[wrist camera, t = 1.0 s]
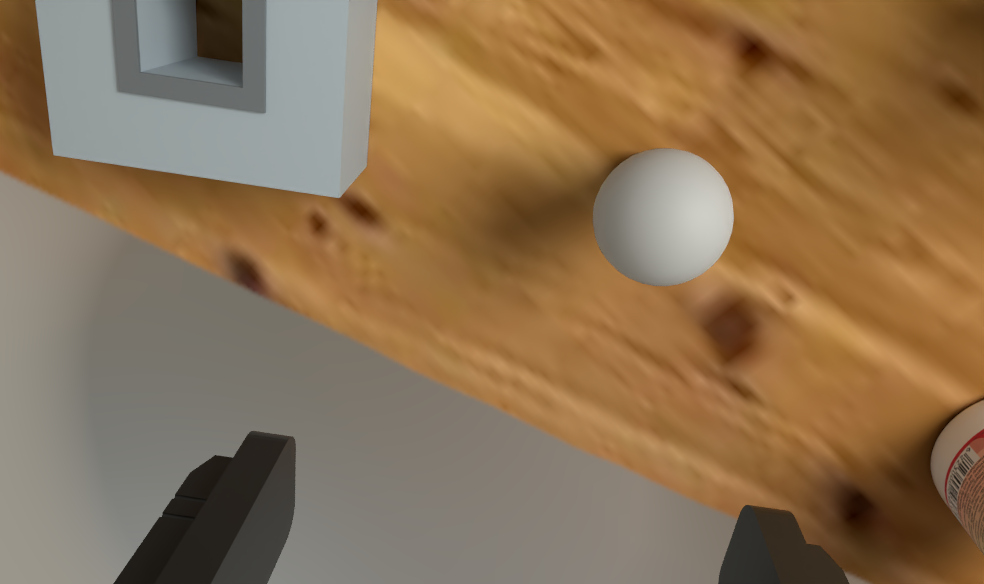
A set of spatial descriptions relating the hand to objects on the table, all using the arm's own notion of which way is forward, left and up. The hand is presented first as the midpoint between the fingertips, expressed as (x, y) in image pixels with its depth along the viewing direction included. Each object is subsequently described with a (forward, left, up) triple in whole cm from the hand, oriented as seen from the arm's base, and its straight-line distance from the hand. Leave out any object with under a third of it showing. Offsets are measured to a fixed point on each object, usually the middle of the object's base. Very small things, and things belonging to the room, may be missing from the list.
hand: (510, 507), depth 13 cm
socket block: (-4, -16, -29) cm, 34 cm away
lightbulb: (+1, +6, -30) cm, 30 cm away
